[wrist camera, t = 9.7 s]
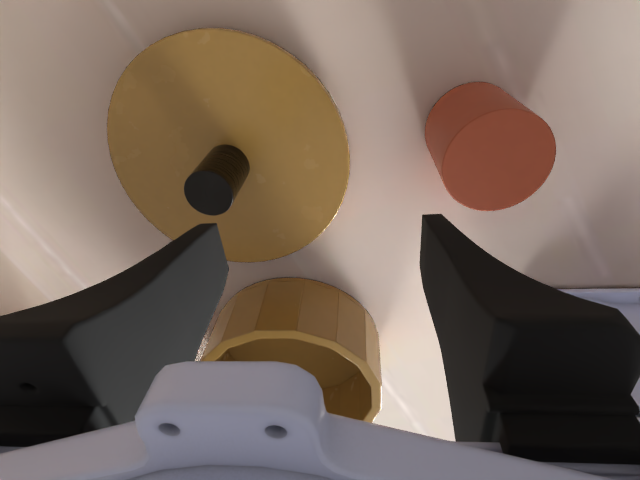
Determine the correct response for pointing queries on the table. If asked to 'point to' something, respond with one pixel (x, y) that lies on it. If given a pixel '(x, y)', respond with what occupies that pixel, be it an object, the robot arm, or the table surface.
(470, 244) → the robot arm
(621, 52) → the table surface
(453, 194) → the candle
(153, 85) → the tin lid
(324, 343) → the tin
